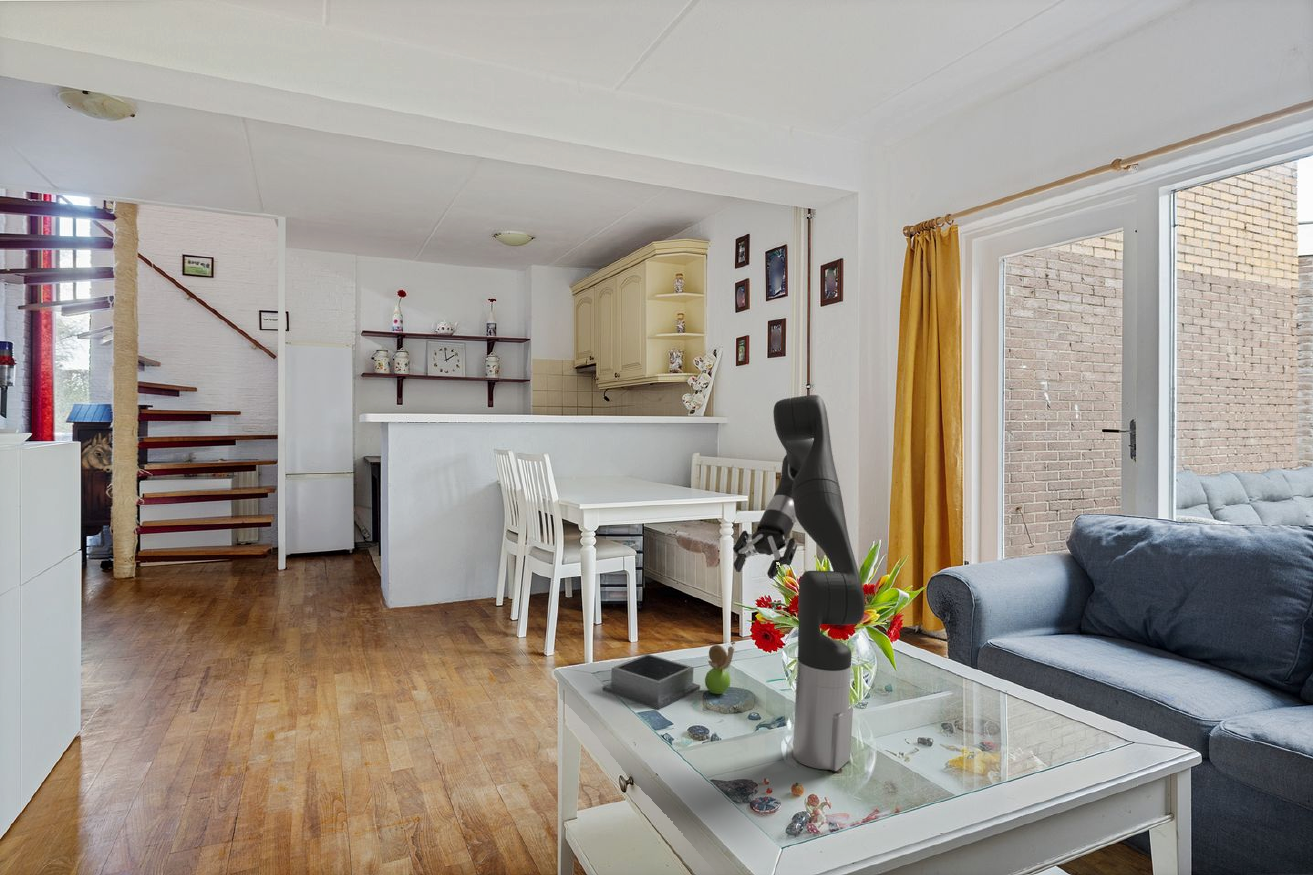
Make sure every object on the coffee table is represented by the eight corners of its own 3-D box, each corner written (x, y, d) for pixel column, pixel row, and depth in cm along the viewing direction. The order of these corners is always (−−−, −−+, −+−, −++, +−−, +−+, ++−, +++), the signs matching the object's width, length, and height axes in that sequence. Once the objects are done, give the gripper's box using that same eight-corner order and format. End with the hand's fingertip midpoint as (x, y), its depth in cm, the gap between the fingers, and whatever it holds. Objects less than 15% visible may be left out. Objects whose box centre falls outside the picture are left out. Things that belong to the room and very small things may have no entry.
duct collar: (700, 688, 161) (701, 667, 161) (659, 709, 149) (660, 685, 149) (645, 671, 170) (646, 651, 170) (602, 689, 158) (603, 667, 158)
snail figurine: (724, 701, 154) (727, 644, 154) (699, 693, 158) (702, 638, 158) (738, 694, 159) (741, 639, 158) (713, 686, 163) (715, 632, 162)
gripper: (748, 504, 178) (720, 558, 170) (802, 511, 170) (776, 568, 161) (757, 524, 183) (731, 577, 174) (810, 532, 174) (786, 588, 166)
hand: (753, 573), depth 168 cm, fingers open, 8 cm apart
